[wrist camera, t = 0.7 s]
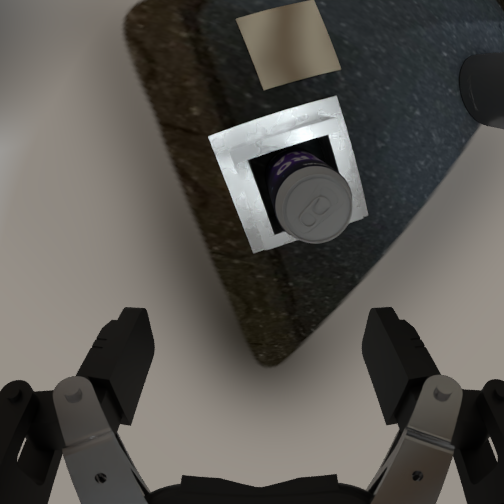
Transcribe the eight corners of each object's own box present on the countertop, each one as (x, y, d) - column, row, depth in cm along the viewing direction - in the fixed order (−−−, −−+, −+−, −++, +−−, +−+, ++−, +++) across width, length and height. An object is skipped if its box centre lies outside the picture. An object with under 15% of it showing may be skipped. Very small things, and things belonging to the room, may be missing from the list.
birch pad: (312, 1, 24) (313, -1, 23) (339, 70, 27) (341, 69, 27) (236, 20, 25) (235, 19, 24) (263, 90, 28) (263, 90, 28)
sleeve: (333, 96, 28) (349, 94, 24) (365, 212, 34) (382, 228, 29) (209, 135, 30) (202, 140, 25) (253, 249, 35) (254, 271, 31)
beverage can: (331, 172, 32) (374, 206, 21) (294, 211, 33) (318, 263, 23) (290, 135, 30) (316, 149, 19) (253, 177, 32) (257, 214, 21)
